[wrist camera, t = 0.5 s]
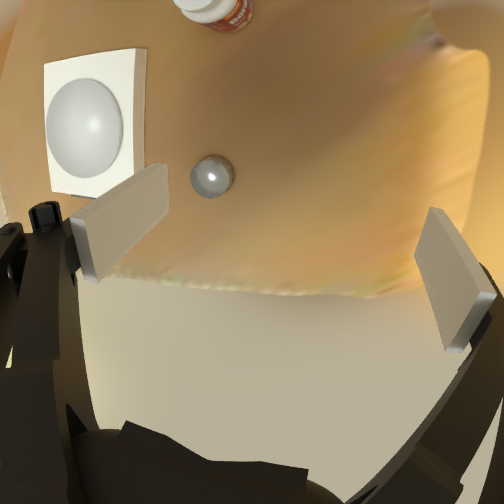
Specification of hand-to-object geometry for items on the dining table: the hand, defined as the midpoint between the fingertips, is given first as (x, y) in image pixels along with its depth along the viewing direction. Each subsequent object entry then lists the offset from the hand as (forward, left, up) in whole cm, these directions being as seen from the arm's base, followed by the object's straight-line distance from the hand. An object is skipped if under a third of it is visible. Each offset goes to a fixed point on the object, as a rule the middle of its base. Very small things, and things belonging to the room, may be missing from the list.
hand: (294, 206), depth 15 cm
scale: (+2, -32, -25) cm, 40 cm away
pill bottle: (-14, -12, -25) cm, 31 cm away
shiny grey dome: (+8, -12, -25) cm, 29 cm away
